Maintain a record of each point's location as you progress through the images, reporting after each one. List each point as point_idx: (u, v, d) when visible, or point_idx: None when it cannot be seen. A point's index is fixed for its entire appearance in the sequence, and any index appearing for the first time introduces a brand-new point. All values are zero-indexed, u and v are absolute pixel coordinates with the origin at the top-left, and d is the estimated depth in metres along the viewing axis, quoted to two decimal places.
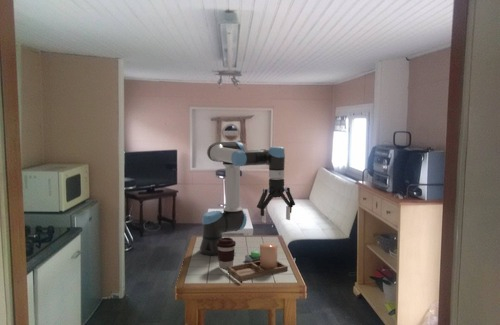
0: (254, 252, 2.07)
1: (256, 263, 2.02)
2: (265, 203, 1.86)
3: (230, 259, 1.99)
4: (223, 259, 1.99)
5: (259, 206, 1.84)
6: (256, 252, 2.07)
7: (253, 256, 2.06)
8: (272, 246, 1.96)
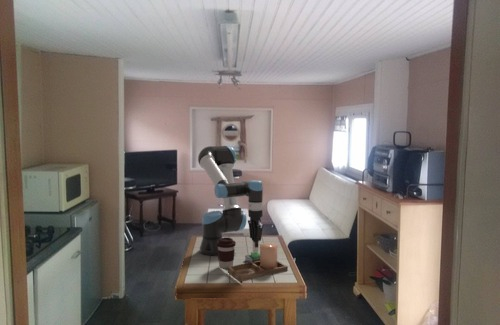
0: (254, 253, 2.07)
1: (256, 263, 2.02)
2: (252, 234, 2.08)
3: (230, 259, 1.99)
4: (223, 259, 1.99)
5: (250, 236, 2.09)
6: (256, 253, 2.07)
7: (253, 257, 2.06)
8: (272, 246, 1.96)
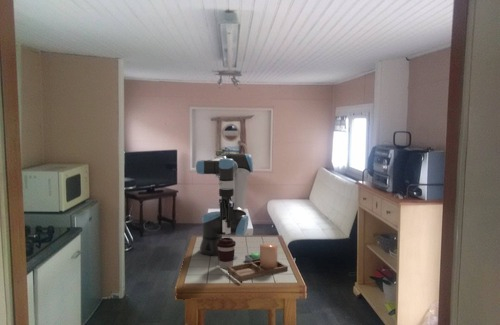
0: (254, 254, 2.07)
1: (256, 263, 2.02)
2: (222, 213, 2.02)
3: (230, 259, 1.99)
4: (223, 259, 1.99)
5: (220, 215, 2.04)
6: (256, 254, 2.07)
7: (253, 258, 2.06)
8: (272, 246, 1.96)
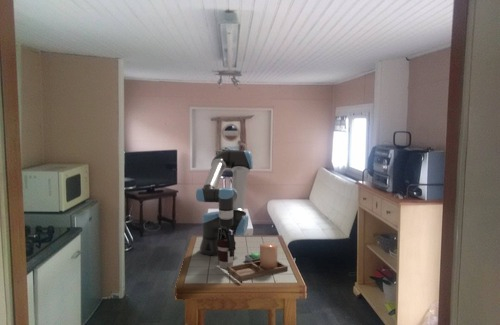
0: (254, 254, 2.07)
1: (256, 263, 2.02)
2: (219, 238, 2.06)
3: None
4: (223, 259, 1.99)
5: (217, 240, 2.09)
6: (256, 254, 2.07)
7: (253, 258, 2.06)
8: (272, 246, 1.96)
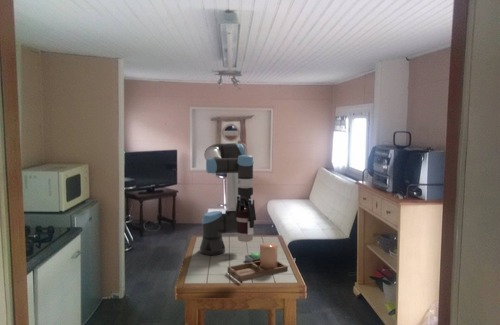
0: (254, 254, 2.07)
1: (256, 263, 2.02)
2: None
3: None
4: (242, 231, 1.86)
5: (235, 212, 1.96)
6: (256, 254, 2.07)
7: (253, 258, 2.06)
8: (272, 246, 1.96)
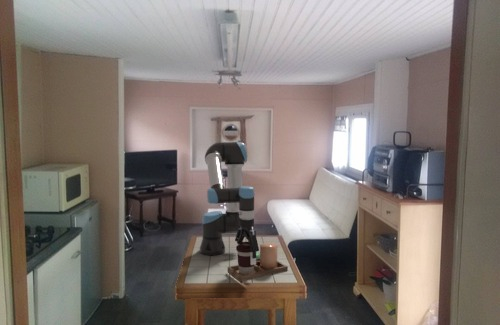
0: None
1: (256, 263, 2.02)
2: (238, 238, 1.96)
3: None
4: (243, 264, 1.87)
5: (235, 238, 1.98)
6: (256, 254, 2.07)
7: None
8: (272, 246, 1.96)
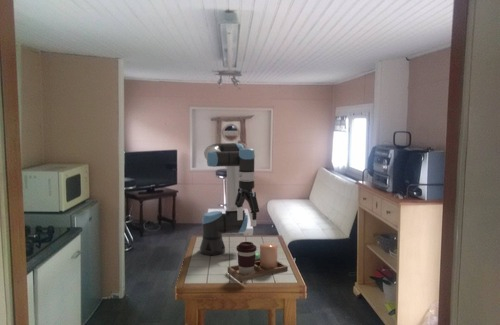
0: None
1: (256, 263, 2.02)
2: (238, 201, 1.94)
3: (251, 265, 1.88)
4: (244, 265, 1.87)
5: (235, 202, 1.97)
6: (256, 254, 2.07)
7: None
8: (272, 246, 1.96)
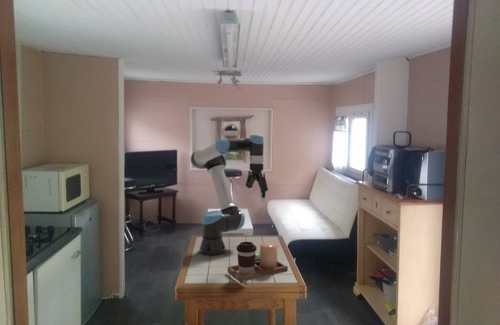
0: None
1: (256, 263, 2.02)
2: (248, 182, 2.17)
3: (251, 265, 1.88)
4: (244, 265, 1.87)
5: None
6: (256, 254, 2.07)
7: None
8: (272, 246, 1.96)
